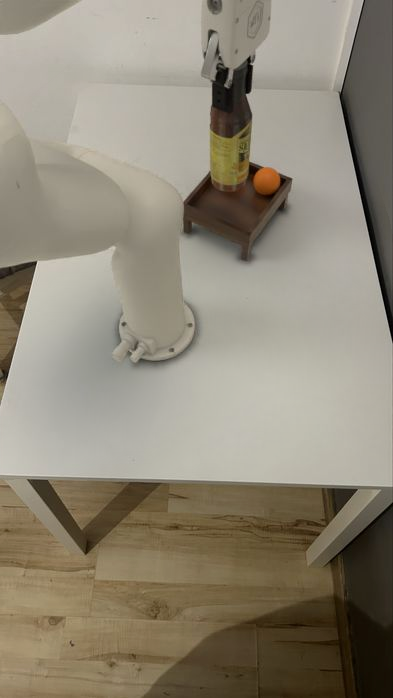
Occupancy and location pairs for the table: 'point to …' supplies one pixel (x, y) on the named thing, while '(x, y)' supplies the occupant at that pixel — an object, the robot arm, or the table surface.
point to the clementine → (266, 181)
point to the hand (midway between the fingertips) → (231, 98)
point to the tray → (234, 209)
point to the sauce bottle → (231, 138)
